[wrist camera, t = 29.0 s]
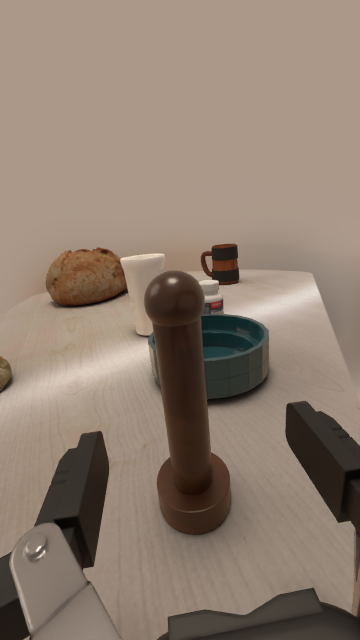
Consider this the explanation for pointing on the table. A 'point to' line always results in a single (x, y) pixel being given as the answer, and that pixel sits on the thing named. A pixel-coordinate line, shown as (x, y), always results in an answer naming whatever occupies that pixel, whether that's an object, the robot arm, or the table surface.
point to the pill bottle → (212, 297)
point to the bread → (85, 277)
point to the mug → (222, 264)
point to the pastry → (4, 372)
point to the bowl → (229, 354)
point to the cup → (141, 285)
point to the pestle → (185, 407)
